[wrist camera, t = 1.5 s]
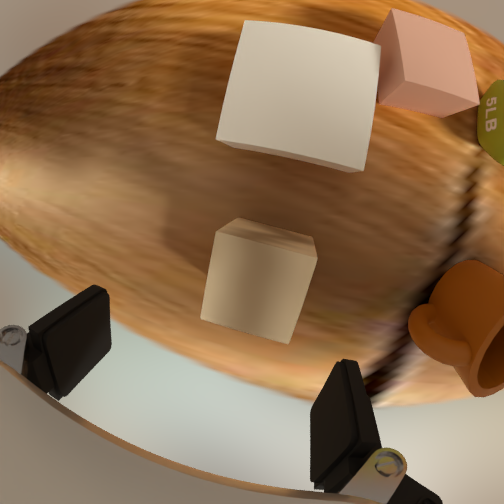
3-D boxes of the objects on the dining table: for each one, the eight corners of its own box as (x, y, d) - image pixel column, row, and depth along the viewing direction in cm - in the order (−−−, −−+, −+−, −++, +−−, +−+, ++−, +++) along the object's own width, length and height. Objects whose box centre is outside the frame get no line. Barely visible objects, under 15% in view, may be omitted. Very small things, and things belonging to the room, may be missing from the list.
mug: (415, 243, 19) (475, 278, 11) (501, 267, 18) (556, 299, 10) (384, 337, 22) (415, 404, 13) (471, 344, 21) (511, 393, 12)
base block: (365, 71, 17) (381, 45, 12) (348, 173, 19) (363, 171, 14) (256, 49, 18) (245, 20, 13) (234, 148, 20) (215, 139, 15)
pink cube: (433, 58, 15) (464, 33, 9) (441, 118, 16) (479, 104, 10) (372, 43, 16) (391, 8, 10) (378, 104, 17) (405, 80, 11)
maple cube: (312, 236, 21) (317, 258, 15) (291, 304, 23) (288, 344, 17) (238, 217, 21) (216, 231, 16) (223, 285, 23) (200, 318, 17)
